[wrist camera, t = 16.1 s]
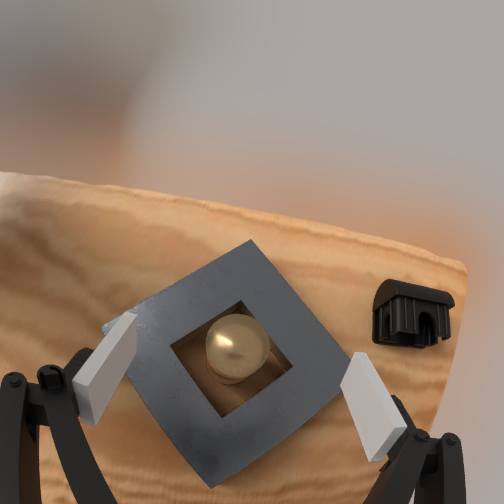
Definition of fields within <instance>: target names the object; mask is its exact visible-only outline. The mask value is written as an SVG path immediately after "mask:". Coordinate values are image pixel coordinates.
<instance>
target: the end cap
mask: <svg viewBox="0 0 504 504" xmlns="http://www.w3.org/2000/svg"><path fill="white" fill-rule="evenodd" d="M454 306H455V303H454V300H453V297H452V296H451V295H450V294H449V293H448V292H446V291H441V290H437V289H433V288H428V287H424V286H419V285H415V284H411V283H406V282H402V281H397V280H393V279H387V280H385V281H384V282H383V283H382V284H381V285H380V286H379V288H378V290H377V292H376V295H375V298H374V302H373V330H372V340H373V342H374V343H376V344H384V345H393V346H402V347H411V348H425V347H426V346H433V345H435V344H437V343H438V336H440V337H442V340H443V341H444V340H446V339H449V338H450V337H451V332H450V318H449V309H451V308H453V307H454Z"/></svg>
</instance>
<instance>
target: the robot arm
mask: <svg viewBox="0 0 504 504" xmlns="http://www.w3.org/2000/svg"><path fill="white" fill-rule="evenodd" d="M136 353H137V314H133V313H129V312H126V311H125V313H124V314H123V315H122V316H121V318H120V319H119V320H118V321H117V323H116V324H115V325H114V326H113V327H112V329H111V330H110V331H109V333H108V334H107V335H106V336H105V338H104V339H103V340H102V341H101V343H100V344H99V345H98V347H97V348H96V349H95V350H92V349H89V348H86V347H85V348H83V349H81V350H80V351H78V352H77V353H76V354H75V355H74V357H73V358H72V359H71V360H70V361H69V363H68V364H67V365H66V366H65V368H64V369H62V368H60V367H59V366H56V365H45V366H43V367H41V368H40V369H39V370H38V372H37V378H38V382H39V384H35V383H29V382H27V380H26V378H25V376H24V375H23V374H21V373H18V372H11V373H8V374H6V375H5V376H4V378H3V379H2V383H1V387H0V504H42V501H41V490H40V474H39V426H40V425H44V426H49V427H50V430H51V433H52V437H53V440H54V443H55V447H56V450H57V453H58V456H59V459H60V461H61V464H62V467H63V470H64V472H65V475H66V478H67V480H68V483H69V485H70V487H71V490H72V492H73V495H74V497H75V499H76V501H77V503H78V504H118V503H117V501H116V500H115V498H114V496H113V494H112V492H111V491H110V489H109V487H108V485H107V483H106V481H105V479H104V477H103V475H102V473H101V471H100V469H99V467H98V465H97V463H96V461H95V458H94V456H93V454H92V452H91V449H90V447H89V445H88V442H87V440H86V438H85V435H84V433H83V430H82V427H81V425H80V422H79V420H78V416H79V415H80V418H81V421H82V422H83V423H86V424H88V425H91V426H94V427H96V426H97V424H98V422H99V420H100V418H101V417H102V415H103V413H104V411H105V409H106V407H107V405H108V403H109V401H110V400H111V398H112V396H113V394H114V392H115V390H116V388H117V387H118V385H119V383H120V381H121V379H122V378H123V376H124V374H125V372H126V370H127V369H128V367H129V365H130V363H131V361H132V360H133V358H134V356H135V354H136ZM340 387H341V389H342V392H343V394H344V397H345V400H346V402H347V405H348V407H349V410H350V413H351V415H352V418H353V421H354V423H355V426H356V429H357V431H358V434H359V437H360V439H361V442H362V445H363V448H364V450H365V453H366V456H367V459H368V461H369V462H375V461H381V460H382V459H383V458H384V457H385V456H386V454H387V455H388V458H389V460H388V461H387V462H386V463H385V464H384V466H383V467H382V468H381V469H380V470H379V471H380V472H381V473H380V475H379V477H378V479H377V481H376V482H375V484H374V486H373V488H372V490H371V491H370V493H369V495H368V496H367V498H366V500H365V501H364V503H363V504H409V501H410V499H411V497H412V494H413V491H414V489H415V496H414V504H466V487H465V474H464V464H463V454H462V447H461V441H460V439H459V438H458V436H456V435H455V434H452V433H445V434H444V435H443V436H442V437H441V439H437V438H430V436H429V434H428V433H427V432H426V431H424V430H422V429H417V428H416V427H415V425H414V423H413V421H412V420H411V418H410V416H409V414H408V413H407V411H406V409H405V408H404V406H403V404H402V402H401V401H400V400H399V399H398V398H397V397H396V396H395V395H390V394H389V392H388V391H387V389H386V387H385V385H384V383H383V382H382V380H381V378H380V376H379V375H378V373H377V371H376V370H375V368H374V366H373V364H372V363H371V361H370V359H369V358H368V356H367V354H366V353H365V352H355V353H354V355H353V357H352V360H351V362H350V364H349V366H348V369H347V371H346V373H345V375H344V377H343V380H342V382H341V384H340Z"/></svg>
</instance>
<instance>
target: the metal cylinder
mask: <svg viewBox="0 0 504 504" xmlns="http://www.w3.org/2000/svg"><path fill="white" fill-rule="evenodd" d="M269 350H270V341H269V337H268V334H267V332H266V330H265V328H264V327H263V326H262V325H261V324H260V323H259V322H258V321H257V320H255V319H254V318H252V317H250V316H247V315H243V314H231V315H227V316H224V317H222V318H220V319H219V320H217V321H216V322H215V323H214V324H213V325H212V326H211V328H210V329H209V331H208V334H207V337H206V362H207V368H208V371H209V373H210V375H211V376H212V377H213V378H214V379H215V380H217V381H218V382H220V383H223V384H228V385H232V384H237V383H240V382H241V381H243V380H244V379H246V378H247V377H249V376H250V375H251V374H253V373H254V372H255V371H256V370H258V369H259V368H260V367H261V366H262V365H263V364H264V363H265V361H266V359H267V357H268V355H269Z"/></svg>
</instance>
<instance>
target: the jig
mask: <svg viewBox="0 0 504 504" xmlns="http://www.w3.org/2000/svg"><path fill="white" fill-rule="evenodd" d="M237 309H239V310H240V312H241V313H242V314H243V315H247V316H250V317H252V318H254V319H255V320H257V321H258V322H259V323H260V324H261V325H262V326H263V327H264V328H265V330H266V332H267V334H268V337H269V341H270V350H271V352H272V353H273V354H274V355H275V357H276V358H277V359H278V360H279V362H280V363H281V364H282V365H283V367H284V368H285V369H286V371H285V372H283V373H282V374H281V375H279V376H278V377H277V378H276V379H274V380H273V381H272V382H270V383H269V384H268V385H266V386H265V387H264V388H262V389H261V390H259V391H258V392H257V393H255V394H254V395H253V396H251V397H250V398H248V399H247V400H246V401H244V402H243V403H241V404H240V405H238V406H237V407H235V408H234V409H233V410H231V411H230V412H228V413H227V414H225V415H224V416H222V417H220V415H219V414H218V413H217V412H216V410H215V409H214V408H213V406H212V405H211V404H210V402H209V401H208V400H207V398H206V397H205V396H204V394H203V393H202V392H201V390H200V389H199V388H198V386H197V385H196V383H195V382H194V381H193V379H192V378H191V376H190V375H189V374H188V372H187V371H186V369H185V368H184V366H183V365H182V363H181V362H180V360H179V359H178V357H177V356H176V354H175V353H174V351H173V350H175V349H176V348H178V347H179V346H181V345H183V344H184V343H186V342H187V341H189V340H191V339H192V338H194V337H195V336H197V335H199V334H200V333H202V332H203V331H205V330H206V329H208V328H210V327H211V326H212V325H213V324H214V323H215V322H216V321H217V320H219V319H220V318H222V317H224V316H227V315H230V314H231V313H233V312H234V311H236V310H237ZM127 312H129V313H133V314H137V353H136V354H135V356H134V358H133V360H132V361H131V363H130V365H129V367H128V369H127V370H126V372H125V373H126V374H127V376H128V378H129V379H130V381H131V383H132V384H133V386H134V388H135V389H136V391H137V392H138V394H139V396H140V397H141V399H142V400H143V402H144V403H145V405H146V406H147V408H148V409H149V411H150V412H151V414H152V415H153V417H154V418H155V419H156V421H157V422H158V424H159V425H160V427H161V428H162V429H163V431H164V432H165V433H166V435H167V436H168V437H169V439H170V440H171V441H172V443H173V444H174V445H175V447H176V448H177V449H178V451H179V452H180V453H181V454H182V456H183V457H184V458H185V459H186V461H187V462H188V463H189V464H190V465H191V467H192V468H193V469H194V470H195V471H196V472H197V474H198V475H199V476H200V477H201V478H202V479H203V481H204V482H205V483H206V484H207V485H208V486H209V487H210V488H213V487H215V486H216V485H218V484H220V483H221V482H223V481H225V480H226V479H228V478H230V477H231V476H233V475H234V474H236V473H237V472H239V471H241V470H242V469H244V468H245V467H247V466H248V465H250V464H251V463H253V462H254V461H255V460H257V459H258V458H260V457H261V456H263V455H264V454H265V453H267V452H268V451H270V450H271V449H272V448H274V447H275V446H276V445H278V444H279V443H280V442H282V441H283V440H284V439H286V438H287V437H288V436H289V435H291V434H292V433H293V432H294V431H296V430H297V429H298V428H299V427H301V426H302V425H303V424H304V423H306V422H307V421H308V420H309V419H310V418H312V417H313V416H314V415H315V414H316V413H317V412H319V411H320V410H321V409H322V408H323V407H324V406H325V405H326V404H328V403H329V402H330V401H331V400H332V399H333V398H334V397H335V396H336V395H337V394H339V393H340V392H341V391H342V389H341V387H340V384H341V382H342V380H343V377H344V375H345V373H346V371H347V369H348V366H349V364H350V362H351V360H350V358H349V357H348V356H347V355H346V354H345V352H344V351H343V350H342V349H341V347H340V346H339V345H338V344H337V343H336V341H335V340H334V339H333V338H332V336H331V335H330V334H329V333H328V332H327V330H326V329H325V328H324V327H323V325H322V324H321V323H320V322H319V321H318V319H317V318H316V317H315V316H314V315H313V313H312V312H311V311H310V310H309V308H308V307H307V306H306V305H305V304H304V302H303V301H302V300H301V299H300V298H299V296H298V295H297V294H296V293H295V291H294V290H293V289H292V288H291V287H290V285H289V284H288V283H287V282H286V281H285V279H284V278H283V277H282V276H281V275H280V273H279V272H278V271H277V270H276V269H275V267H274V266H273V265H272V264H271V262H270V261H269V260H268V259H267V258H266V256H265V255H264V254H263V253H262V252H261V250H260V249H259V248H258V247H257V246H256V244H255V243H254V242H253V241H252V240H251V239H250V240H249V241H247V242H245V243H243V244H242V245H240V246H238V247H236V248H235V249H233V250H231V251H230V252H228V253H226V254H224V255H223V256H221V257H219V258H217V259H216V260H214V261H212V262H210V263H209V264H207V265H205V266H204V267H202V268H200V269H198V270H197V271H195V272H193V273H191V274H190V275H188V276H186V277H185V278H183V279H181V280H179V281H178V282H176V283H174V284H173V285H171V286H169V287H167V288H166V289H164V290H162V291H161V292H159V293H157V294H155V295H154V296H152V297H150V298H149V299H147V300H145V301H144V302H142V303H140V304H138V305H137V306H135V307H133V308H132V309H130V310H128V311H127ZM123 314H124V313H123ZM123 314H122V315H123ZM122 315H120V316H118V317H117V318H115V319H113V320H111V321H110V322H108V323H106V324H105V325H103V326H101V329H102V331H103V333H104V335H105V336H106V335H107V334H108V333H109V331H110V330H111V329H112V327H113V326H114V325H115V324H116V323H117V321H118V320H119V319H120V318H121V316H122Z"/></svg>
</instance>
